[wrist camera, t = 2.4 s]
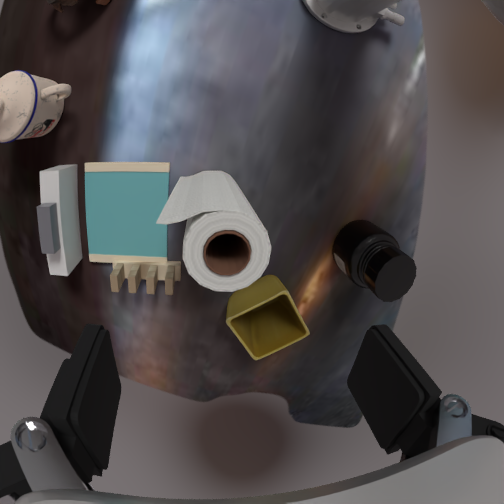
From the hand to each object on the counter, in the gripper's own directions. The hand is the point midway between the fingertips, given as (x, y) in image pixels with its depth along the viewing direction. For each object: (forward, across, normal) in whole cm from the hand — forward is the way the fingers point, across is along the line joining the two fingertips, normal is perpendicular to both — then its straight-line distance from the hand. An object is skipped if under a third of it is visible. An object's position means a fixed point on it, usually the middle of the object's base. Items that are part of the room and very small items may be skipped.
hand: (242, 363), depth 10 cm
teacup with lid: (+32, +25, -12) cm, 42 cm away
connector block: (+32, +21, +4) cm, 38 cm away
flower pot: (+32, -8, +16) cm, 37 cm away
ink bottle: (+32, -23, +7) cm, 40 cm away
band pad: (+32, +12, +4) cm, 34 cm away
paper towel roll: (+32, 0, 0) cm, 32 cm away
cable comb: (+32, +9, +12) cm, 35 cm away
